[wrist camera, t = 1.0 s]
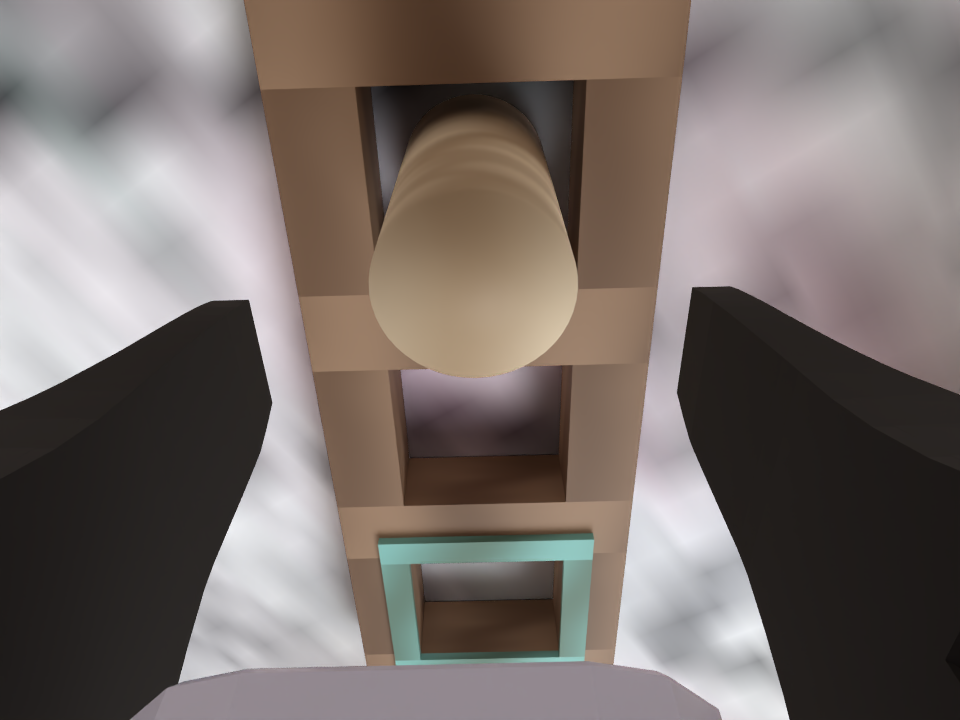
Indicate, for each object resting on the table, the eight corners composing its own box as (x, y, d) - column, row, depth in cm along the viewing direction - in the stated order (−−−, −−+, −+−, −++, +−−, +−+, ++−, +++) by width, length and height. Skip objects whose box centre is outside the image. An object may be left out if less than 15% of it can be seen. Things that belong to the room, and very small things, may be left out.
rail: (668, -38, 17) (698, -32, 15) (601, 631, 31) (612, 689, 29) (268, -25, 18) (236, -17, 15) (378, 636, 31) (370, 695, 29)
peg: (545, 92, 19) (583, 185, 12) (542, 230, 21) (573, 375, 14) (399, 96, 19) (356, 191, 12) (410, 234, 21) (380, 379, 14)
